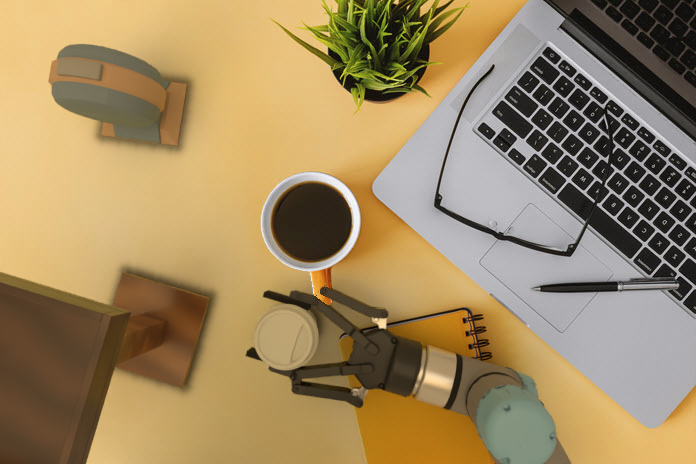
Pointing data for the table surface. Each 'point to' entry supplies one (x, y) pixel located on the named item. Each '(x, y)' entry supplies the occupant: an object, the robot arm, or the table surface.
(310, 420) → the table surface
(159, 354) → the tray stand
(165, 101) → the alarm clock
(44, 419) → the serving tray
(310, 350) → the coffee cup
